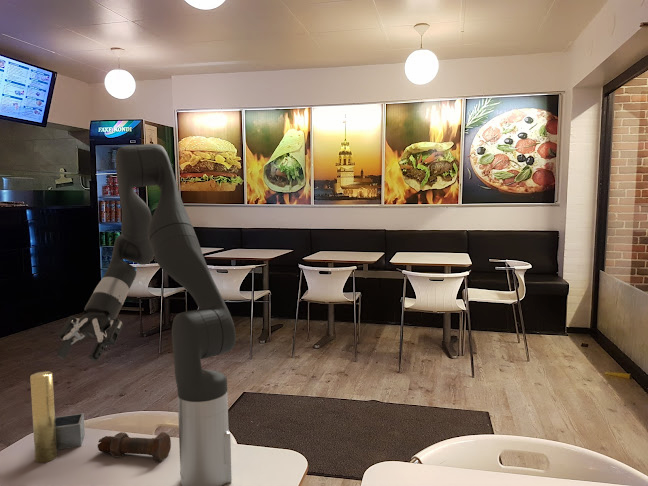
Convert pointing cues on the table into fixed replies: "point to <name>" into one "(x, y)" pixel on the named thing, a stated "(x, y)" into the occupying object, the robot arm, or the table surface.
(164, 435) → the bolt
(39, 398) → the tall amber cylinder
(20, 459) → the table surface
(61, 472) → the table surface
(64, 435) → the open square box
